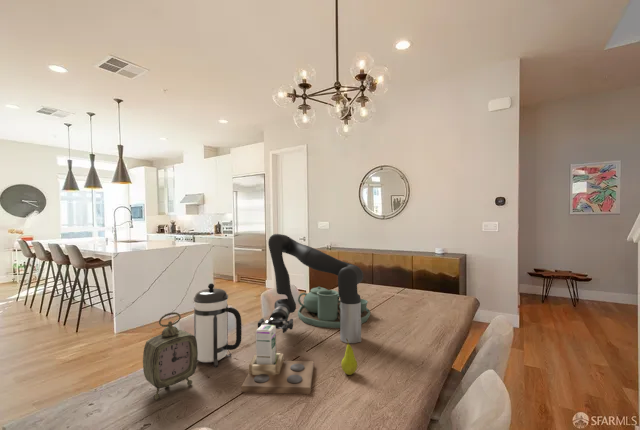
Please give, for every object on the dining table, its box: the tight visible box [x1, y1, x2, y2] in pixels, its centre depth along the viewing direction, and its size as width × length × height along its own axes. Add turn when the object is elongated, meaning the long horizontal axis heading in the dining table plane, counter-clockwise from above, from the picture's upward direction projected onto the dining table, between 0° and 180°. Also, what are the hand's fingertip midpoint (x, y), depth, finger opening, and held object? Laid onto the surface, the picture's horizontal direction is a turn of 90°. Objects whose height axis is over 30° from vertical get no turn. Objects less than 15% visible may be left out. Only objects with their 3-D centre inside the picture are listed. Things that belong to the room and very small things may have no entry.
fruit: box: [340, 339, 358, 376], centre depth 114 cm, size 6×6×12 cm
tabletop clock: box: [142, 311, 198, 400], centre depth 104 cm, size 14×9×25 cm, turn 139°
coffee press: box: [192, 282, 243, 368], centre depth 125 cm, size 17×16×30 cm
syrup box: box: [255, 324, 277, 365], centre depth 115 cm, size 6×6×14 cm
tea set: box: [297, 286, 371, 329], centre depth 179 cm, size 40×40×16 cm
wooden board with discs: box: [241, 352, 315, 395], centre depth 111 cm, size 22×18×5 cm
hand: (272, 330), depth 125 cm, fingers open, 8 cm apart
